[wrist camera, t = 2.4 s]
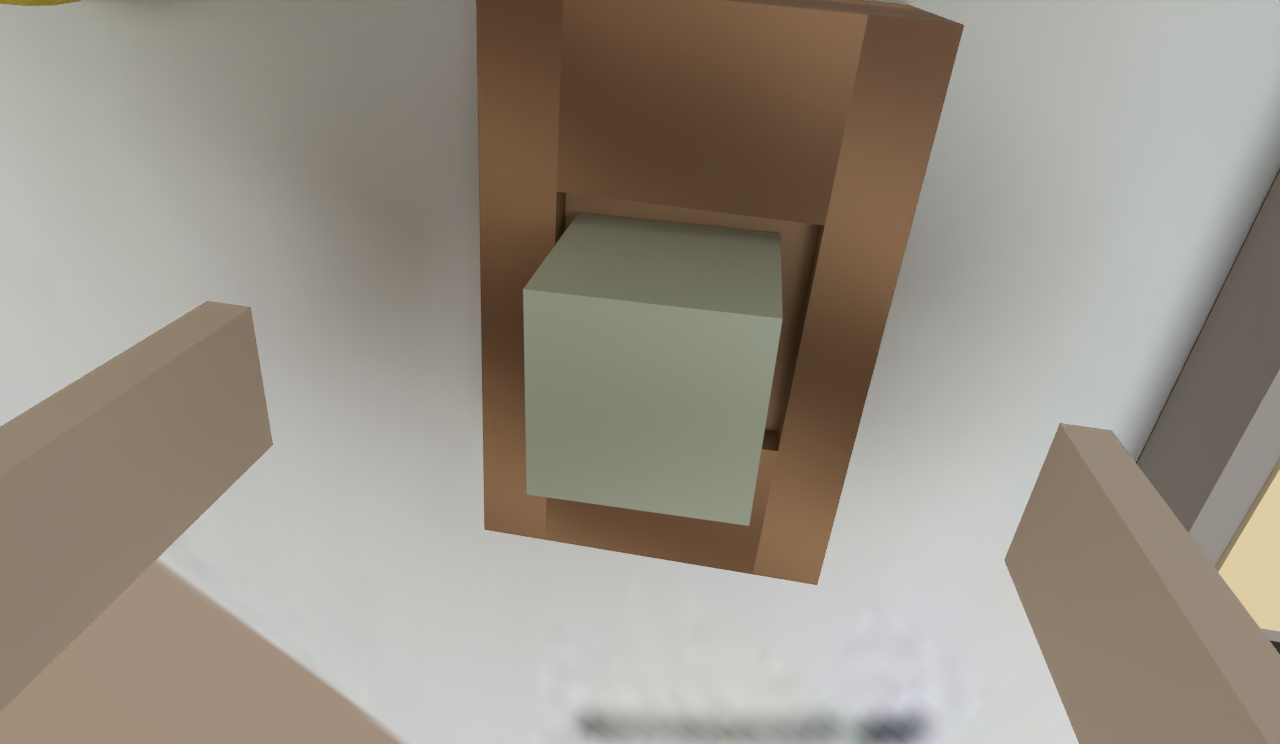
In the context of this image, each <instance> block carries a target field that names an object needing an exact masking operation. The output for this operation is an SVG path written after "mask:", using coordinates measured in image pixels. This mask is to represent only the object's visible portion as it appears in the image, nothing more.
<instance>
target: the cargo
mask: <svg viewBox="0 0 1280 744" xmlns="http://www.w3.org/2000/svg"><path fill="white" fill-rule="evenodd" d="M523 312H524V370H525V428H526V486H527V495H534V496H541V497H548V498H555V499H562V500H569V501H576V502H583V503H591V504H598V505H605V506H612V507H619V508H626V509H633V510H640V511H647V512H654V513H661V514H668V515H675V516H682V517H689V518H697V519H704V520H711V521H718V522H725V523H732V524H739V525H746V526H749V524H750V518H751V512H752V506H753V499H754V493H755V487H756V481H757V475H758V469H759V462H760V456H761V450H762V444H763V438H764V432H765V425H766V419H767V413H768V407H769V401H770V394H771V388H772V382H773V376H774V370H775V364H776V357H777V351H778V345H779V339H780V333H781V326H782V320H783V310H782V273H781V237H780V233H772V232H762V231H753V230H743V229H733V228H724V227H714V226H704V225H694V224H685V223H675V222H665V221H656V220H646V219H636V218H626V217H617V216H607V215H597V214H587V213H578V214H577V216H576V217H575V219H574V220H573V221H572V223H571V224H570V225H569V227H568V228H567V230H566V231H565V232H564V234H563V235H562V236H561V238H560V239H559V241H558V242H557V243H556V245H555V246H554V247H553V249H552V250H551V252H550V253H549V254H548V256H547V257H546V258H545V260H544V261H543V263H542V264H541V265H540V267H539V268H538V269H537V271H536V272H535V274H534V275H533V276H532V278H531V279H530V280H529V282H528V283H527V285H526V286H525V287H524V289H523Z"/></svg>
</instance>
